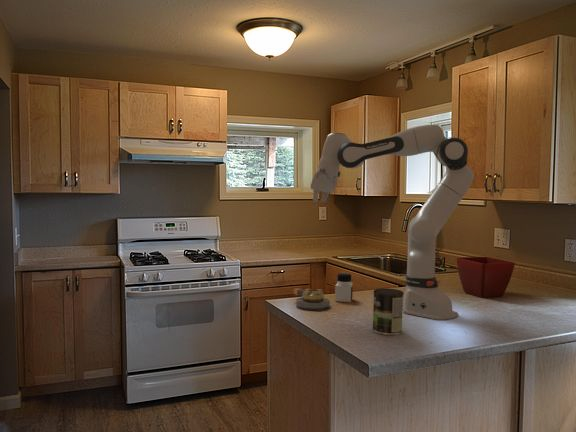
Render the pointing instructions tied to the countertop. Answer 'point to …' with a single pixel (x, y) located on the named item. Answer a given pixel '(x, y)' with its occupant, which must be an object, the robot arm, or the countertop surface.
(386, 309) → the coffee can
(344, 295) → the medicine bottle
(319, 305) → the plate
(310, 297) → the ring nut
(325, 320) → the countertop surface
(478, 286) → the plant pot
